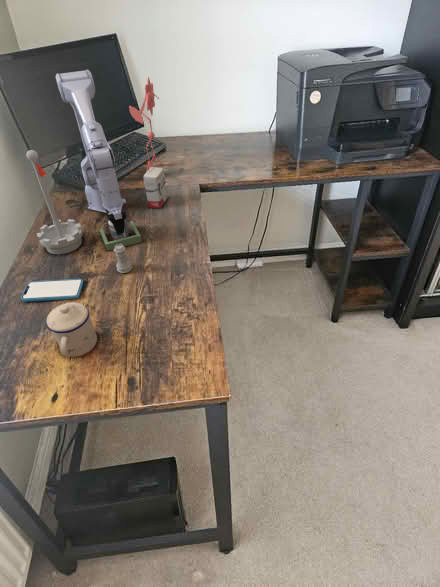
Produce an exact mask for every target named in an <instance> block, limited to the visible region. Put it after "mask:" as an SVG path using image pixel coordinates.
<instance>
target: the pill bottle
mask: <svg viewBox="0 0 440 587" xmlns="http://www.w3.org/2000/svg"><path fill="white" fill-rule="evenodd" d="M109 214H112V213H111V212H109ZM107 224H108V227H109V231H110V234H111V238H112V241H114V240H118V239H122V238H126V237H130V234H129V230H128V226H127V222H126V220H125V223H124V233H122V234H117V232H116V230H115V228H114V226H113V224H112V223H111V222H110V221H109V220H108V222H107Z"/></svg>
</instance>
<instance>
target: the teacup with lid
mask: <svg viewBox="0 0 440 587" xmlns="http://www.w3.org/2000/svg"><path fill="white" fill-rule="evenodd" d="M46 327H47V329H48V330H49V331H50V332H51V335H52V337H53V338H54V341H55V343H56V345H57V347H58V349H59V351H60V352H61V354H62V356H64V357H66V358H68V357H72V358H73V357H74V358H75V357H80V356H84V355H86V354H87V353H89V352H90V351H92V350H93V349H94V348H95V346H96V344H97V341H98V336H97V332H96V330H95V327H94V324H93V322H92V319H91V317H90V311H89V308H87V306H86V305H85V304H82V303H80V302H77V301H75V302H74V301H71V302H65V303H62V304H59V305H57V306H56V307H55V308H53V309H52V310H51V311H50V312H49V314H48V315H47V317H46Z"/></svg>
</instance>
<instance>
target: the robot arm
mask: <svg viewBox="0 0 440 587" xmlns="http://www.w3.org/2000/svg"><path fill="white" fill-rule="evenodd" d="M55 80H56V84H57V88H58V91H59V94H60V97H61V100H62V101H63V103H66V104H70V106H71V107H72V109H73V111H74V116H75V120H76V122H77V123H76V124H77V126H78V130H79V133H80V138H81V140H82V144H83V148H84V151H85V155H86V156H84V158H83V159H82V160H81V162H80V168H81V174H82V177H83V179H84V180H83V181H84V183H85V187H84V194H85V196H86V200H87V203H88V207H87V209H88V210H92V211H96V212H100V213H103V214H104V213H105V214H106V217H107V219H108V221H110V222H111V223H112V224H113V226H114V228H115V230H116V232H117V234H122V233H124V223H125V221H126V218H127V212H126V211H122V209H123V206H124V204H126V203H127V199H126V198H122V195H121V192H120V187H119V182H118V178H117V172H116V169H115V167H116V159H115V155H114V152H113V149H112V147H111V145H110V143H109V141H107V138H106V135H105V132H104V129H103V126H102V125H101V123H99V122H98V121H96V118H95V114H94V110H93V105H92V99H94V97H95V94H96V85H95V81H94V78H93V74H92V72H91V71H90V70H89V69H85V70H79V71H71V72H64V73H62V72H61V73H59V72H58V73H56V75H55ZM109 212H111V213H112V214H109Z"/></svg>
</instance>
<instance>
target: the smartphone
mask: <svg viewBox="0 0 440 587" xmlns="http://www.w3.org/2000/svg"><path fill="white" fill-rule="evenodd" d="M83 286H84V280H83V278H68V279H51V280H49V279H48V280H35V281H33V280H32V281H29V282H28V283H27V284H26V286H25V288H24V291H23V292H22V294H21V296H20V299H21V301H22V302H24V303H25V302H26V303H27V302H29V303H30V302H43V301H45V302H46V301H62V300H77V299H78V298H79V297H80V295H81V292H82V288H83Z"/></svg>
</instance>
